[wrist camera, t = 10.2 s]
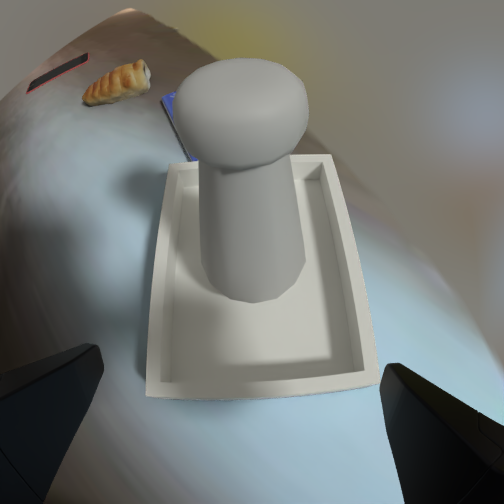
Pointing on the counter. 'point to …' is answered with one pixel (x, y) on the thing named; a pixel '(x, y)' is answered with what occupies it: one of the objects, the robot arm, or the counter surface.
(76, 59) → the smartphone
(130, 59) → the counter surface
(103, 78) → the pastry
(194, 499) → the counter surface
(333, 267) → the tray
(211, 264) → the salt shaker
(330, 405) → the counter surface
